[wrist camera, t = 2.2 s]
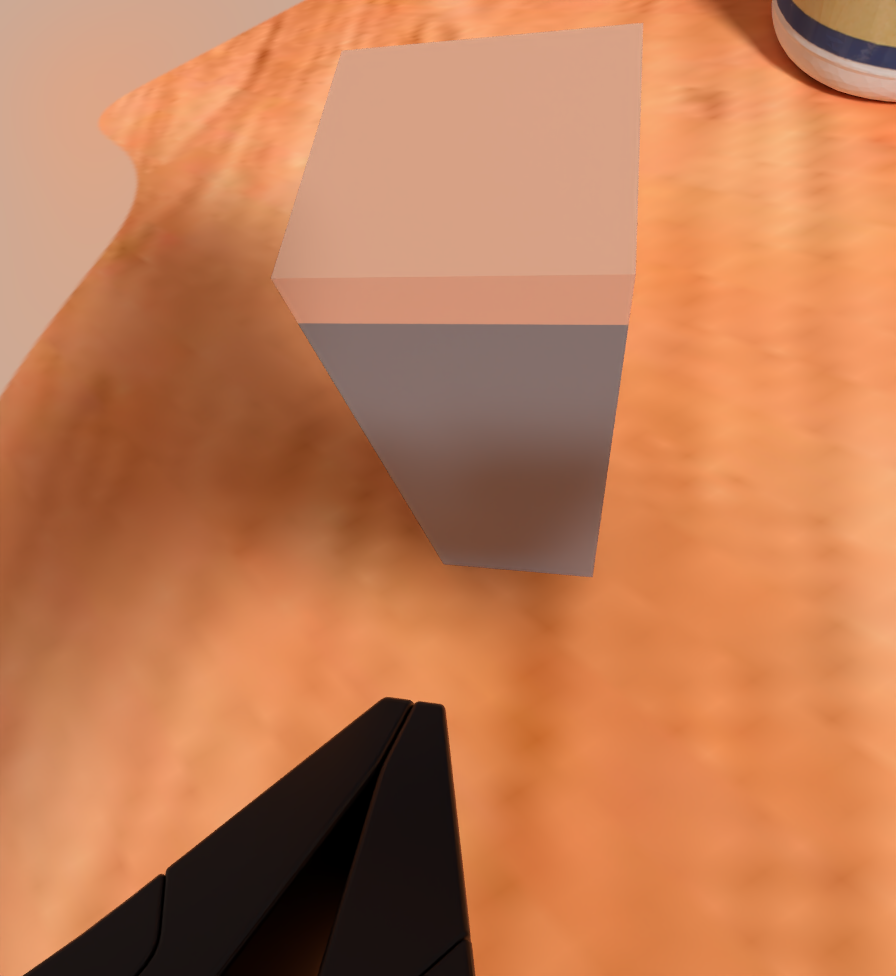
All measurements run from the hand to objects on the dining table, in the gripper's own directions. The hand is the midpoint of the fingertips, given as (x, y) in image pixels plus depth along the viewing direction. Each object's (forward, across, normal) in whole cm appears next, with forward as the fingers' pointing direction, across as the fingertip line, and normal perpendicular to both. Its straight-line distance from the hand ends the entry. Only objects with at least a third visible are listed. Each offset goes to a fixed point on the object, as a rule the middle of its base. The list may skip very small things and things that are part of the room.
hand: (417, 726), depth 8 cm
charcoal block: (+14, 0, +2) cm, 14 cm away
